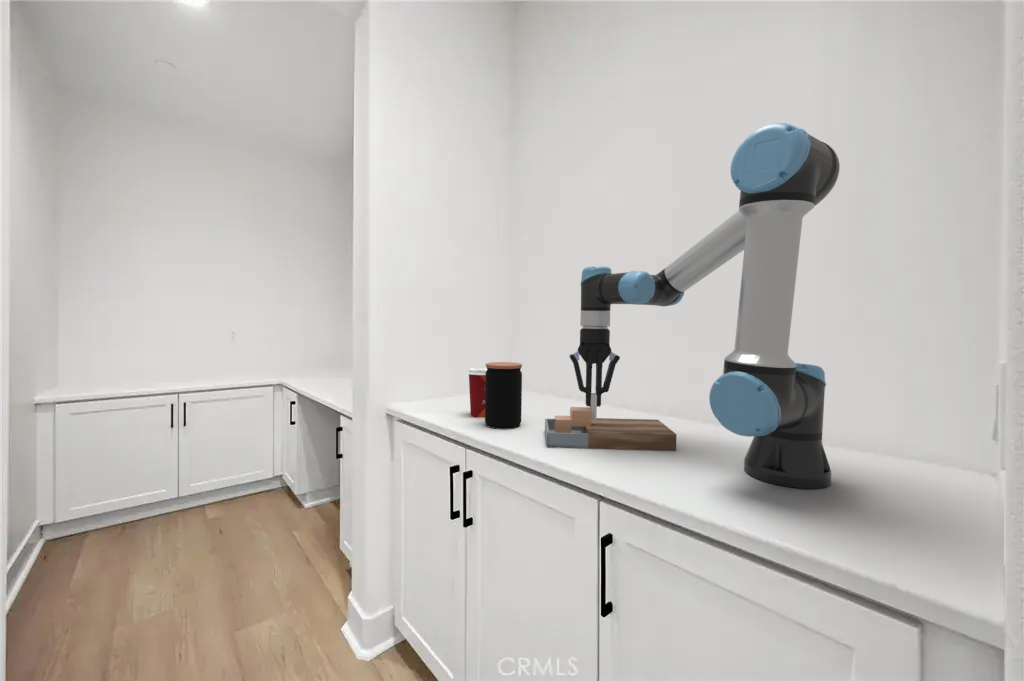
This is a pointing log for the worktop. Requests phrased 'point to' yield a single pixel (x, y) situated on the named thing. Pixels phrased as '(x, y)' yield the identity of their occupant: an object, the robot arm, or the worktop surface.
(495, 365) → the coffee jar
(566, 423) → the tile
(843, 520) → the worktop surface
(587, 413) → the tile
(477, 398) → the coffee cup
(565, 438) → the tray
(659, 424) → the board
